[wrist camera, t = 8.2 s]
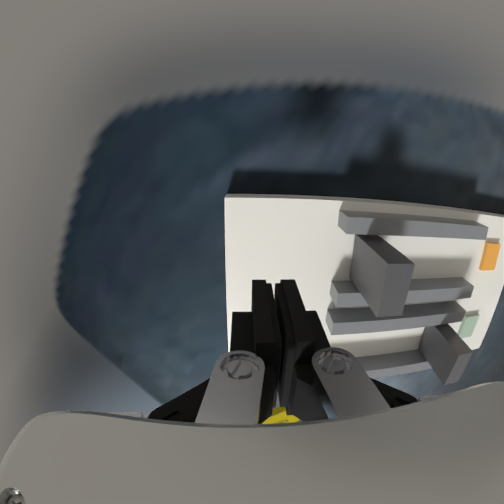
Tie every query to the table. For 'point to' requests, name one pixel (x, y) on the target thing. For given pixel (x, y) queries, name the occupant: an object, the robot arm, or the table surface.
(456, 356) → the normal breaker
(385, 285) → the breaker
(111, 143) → the table surface
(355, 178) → the table surface
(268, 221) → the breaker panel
